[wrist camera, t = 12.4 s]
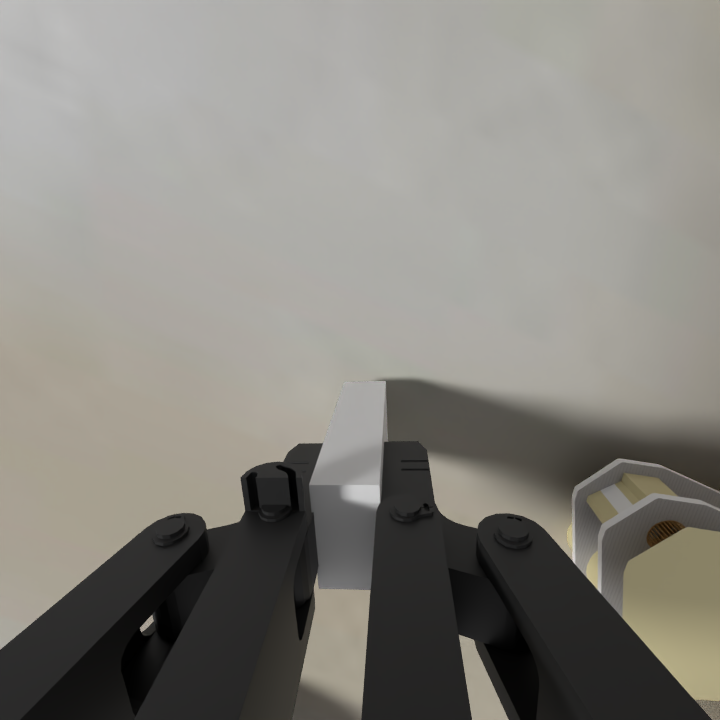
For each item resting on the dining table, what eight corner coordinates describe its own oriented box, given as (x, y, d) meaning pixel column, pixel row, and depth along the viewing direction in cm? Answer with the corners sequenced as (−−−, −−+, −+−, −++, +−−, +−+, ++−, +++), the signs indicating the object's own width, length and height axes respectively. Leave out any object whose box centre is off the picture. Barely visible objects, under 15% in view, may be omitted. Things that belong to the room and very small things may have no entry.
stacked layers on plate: (807, 425, 16) (1017, 522, 10) (717, 613, 18) (849, 768, 13) (533, 386, 16) (601, 459, 11) (484, 575, 19) (519, 710, 13)
